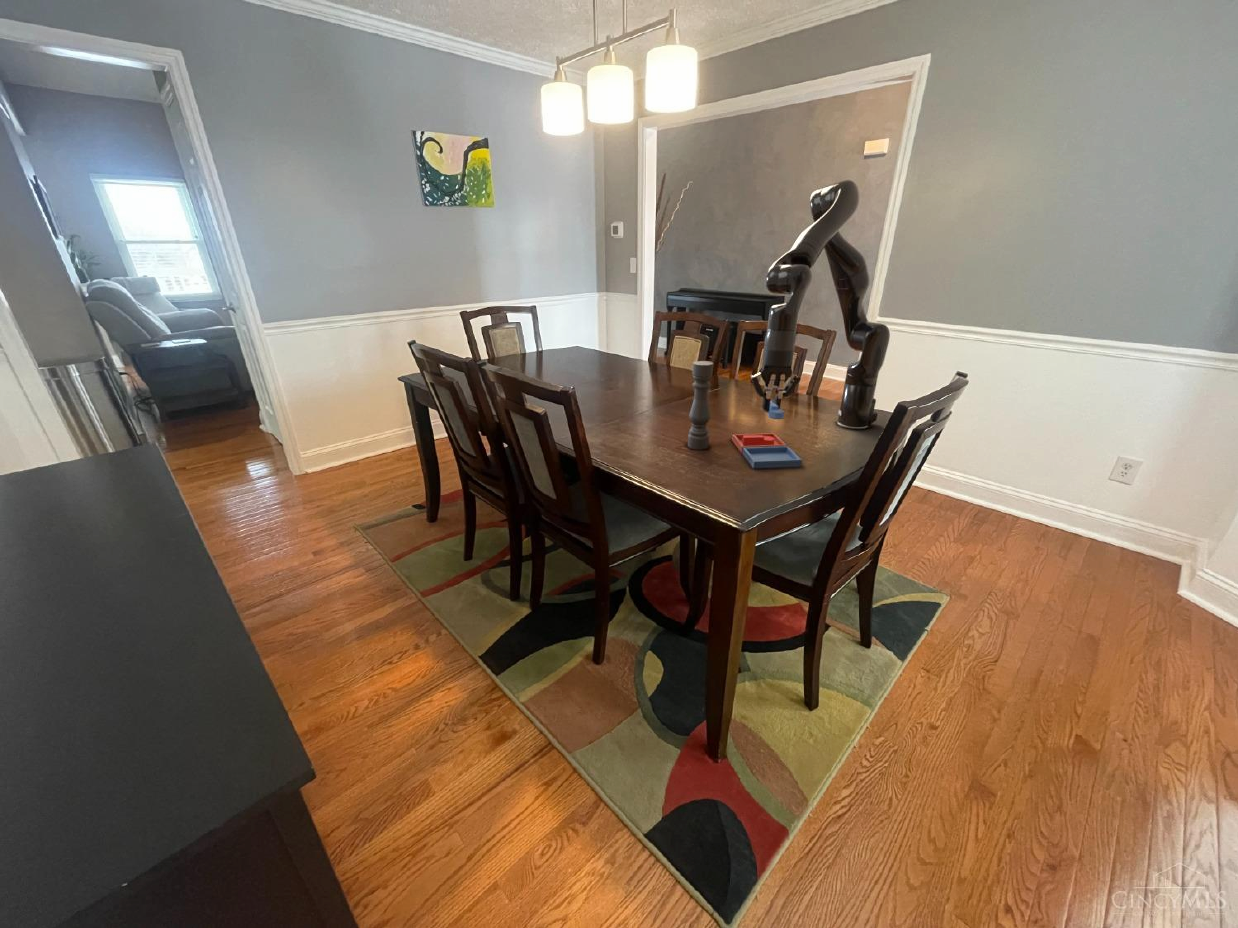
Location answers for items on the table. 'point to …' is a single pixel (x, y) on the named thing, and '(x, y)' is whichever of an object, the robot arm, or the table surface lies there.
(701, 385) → the candle holder
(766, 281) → the robot arm
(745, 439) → the red stepped block
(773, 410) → the blue stepped block
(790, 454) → the blue tray
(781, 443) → the red tray
